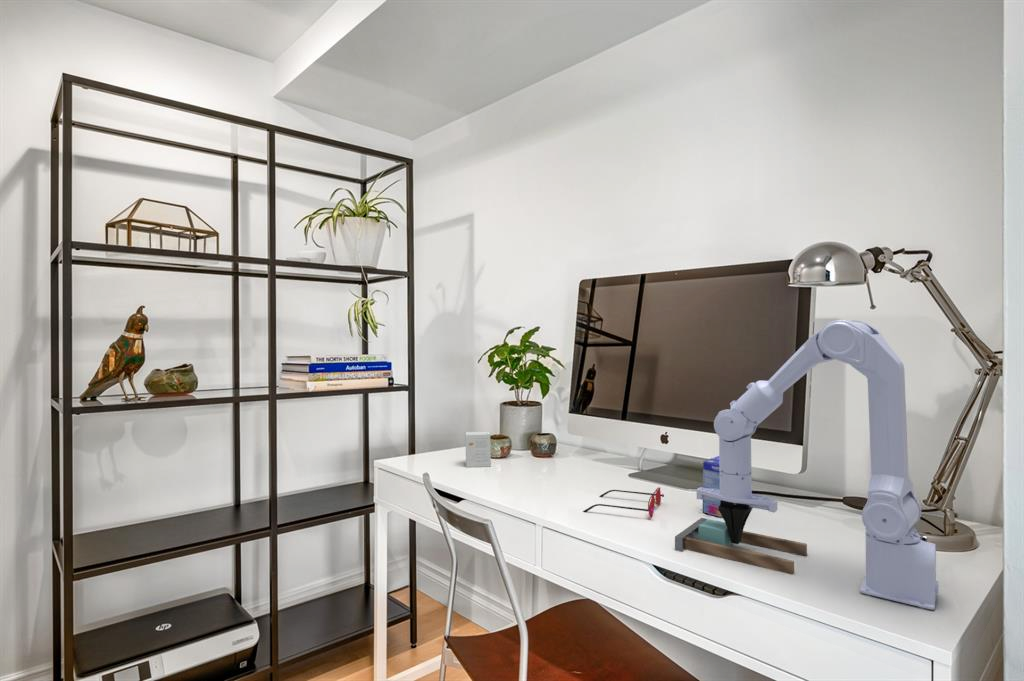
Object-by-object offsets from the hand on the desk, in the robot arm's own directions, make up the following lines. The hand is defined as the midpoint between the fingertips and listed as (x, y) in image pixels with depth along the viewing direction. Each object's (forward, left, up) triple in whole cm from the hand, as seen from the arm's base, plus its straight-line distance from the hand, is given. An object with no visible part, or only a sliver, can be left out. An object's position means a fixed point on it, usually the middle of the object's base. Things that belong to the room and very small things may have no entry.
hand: (735, 542), depth 108 cm
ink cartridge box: (+10, -22, -2) cm, 24 cm away
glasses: (+29, -11, -2) cm, 32 cm away
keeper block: (+4, 0, -1) cm, 4 cm away
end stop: (+8, 0, -1) cm, 9 cm away
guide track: (-2, 0, -1) cm, 2 cm away
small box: (+88, -23, -2) cm, 91 cm away
